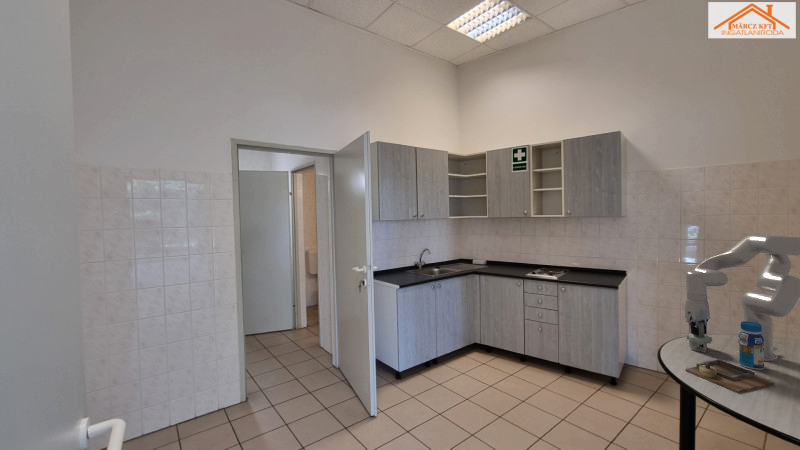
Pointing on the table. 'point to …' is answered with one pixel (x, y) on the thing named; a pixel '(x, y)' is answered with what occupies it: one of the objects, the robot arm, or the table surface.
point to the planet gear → (701, 337)
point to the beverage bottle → (751, 346)
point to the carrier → (729, 376)
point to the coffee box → (698, 344)
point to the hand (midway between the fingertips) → (698, 333)
